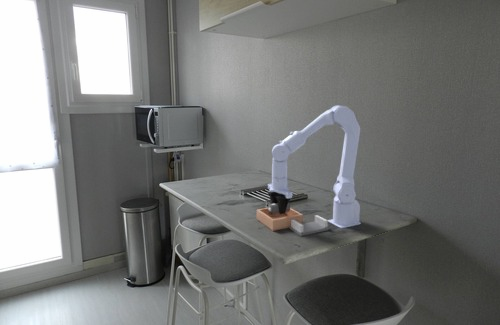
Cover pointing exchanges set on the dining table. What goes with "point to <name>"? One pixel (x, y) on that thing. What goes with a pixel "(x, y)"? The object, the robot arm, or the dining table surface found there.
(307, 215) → the dining table surface
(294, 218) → the bin
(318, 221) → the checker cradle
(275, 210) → the cell
